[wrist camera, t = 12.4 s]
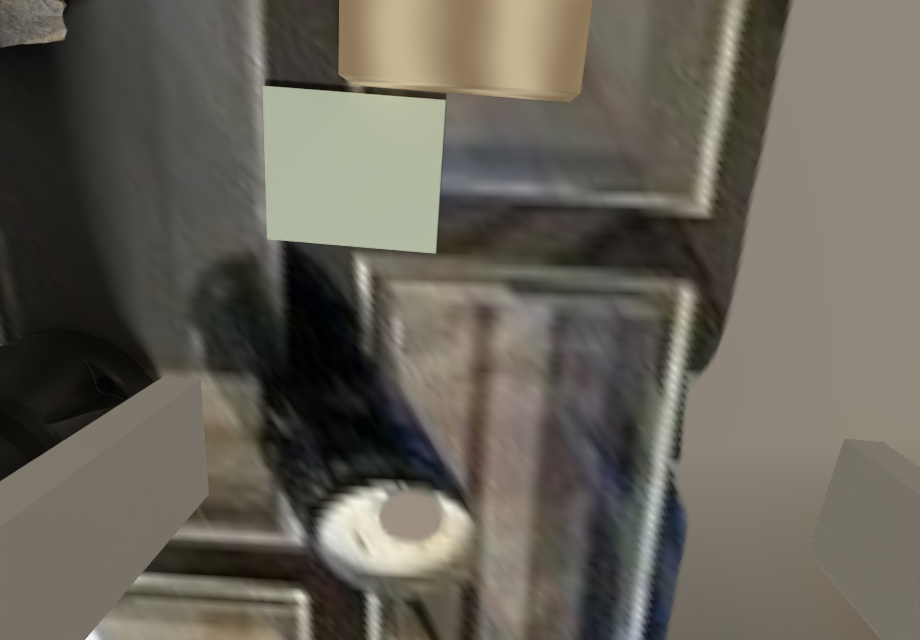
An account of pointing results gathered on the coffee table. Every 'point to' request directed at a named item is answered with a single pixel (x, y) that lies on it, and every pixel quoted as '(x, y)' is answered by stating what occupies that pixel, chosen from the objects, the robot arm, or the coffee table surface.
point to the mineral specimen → (31, 21)
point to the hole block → (466, 46)
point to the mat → (353, 168)
